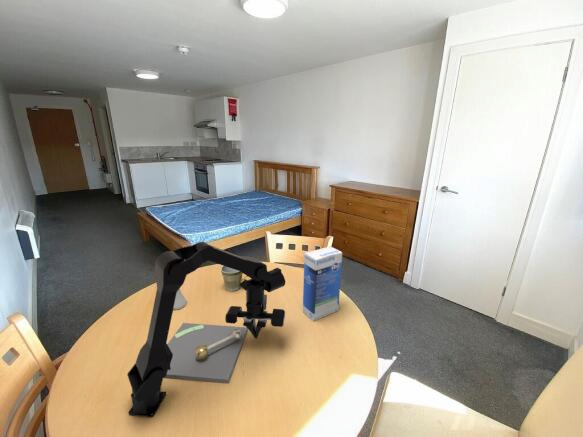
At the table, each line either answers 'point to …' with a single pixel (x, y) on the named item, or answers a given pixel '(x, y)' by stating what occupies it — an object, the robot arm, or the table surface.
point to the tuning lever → (216, 345)
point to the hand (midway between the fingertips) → (256, 337)
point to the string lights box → (321, 282)
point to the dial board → (216, 363)
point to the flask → (179, 300)
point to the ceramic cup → (231, 278)
